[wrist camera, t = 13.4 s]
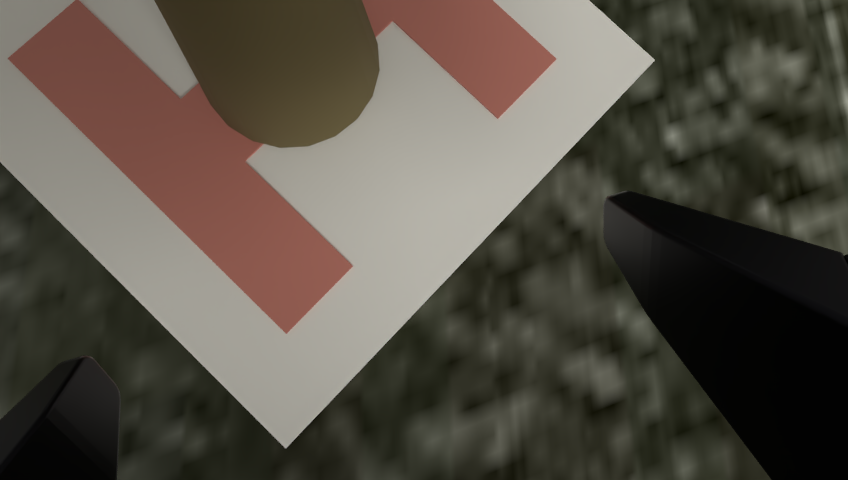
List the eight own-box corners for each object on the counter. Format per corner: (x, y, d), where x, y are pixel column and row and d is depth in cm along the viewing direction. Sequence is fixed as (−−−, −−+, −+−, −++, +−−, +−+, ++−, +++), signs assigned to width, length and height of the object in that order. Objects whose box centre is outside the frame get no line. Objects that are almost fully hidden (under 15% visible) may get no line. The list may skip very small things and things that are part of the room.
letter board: (289, 443, 17) (285, 449, 17) (-86, 67, 18) (-105, 58, 18) (647, 67, 19) (656, 58, 19) (295, -252, 20) (291, -272, 20)
